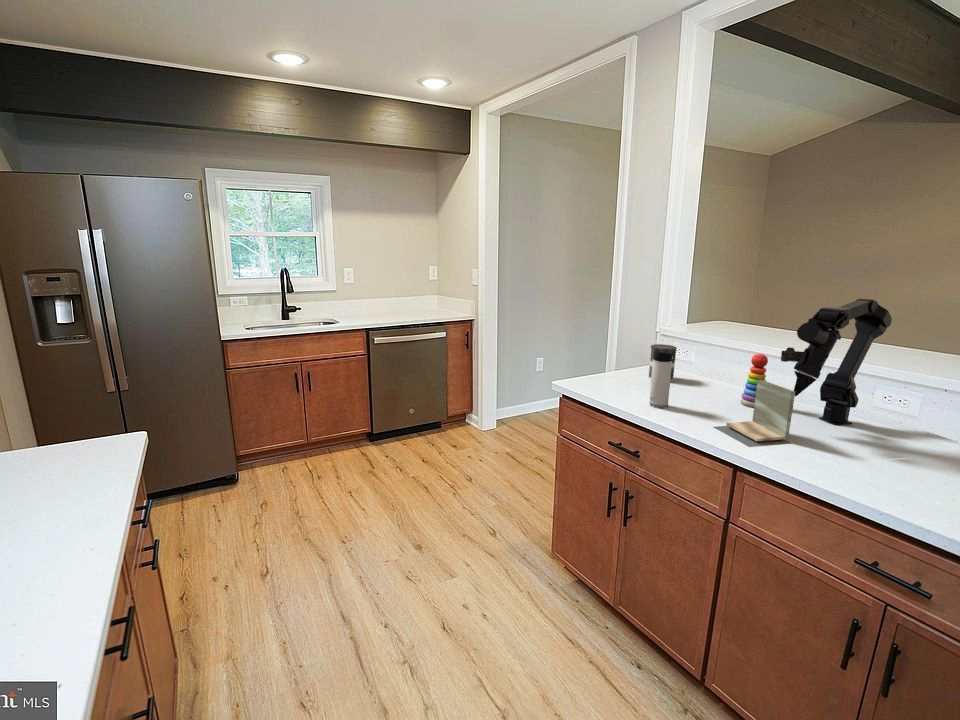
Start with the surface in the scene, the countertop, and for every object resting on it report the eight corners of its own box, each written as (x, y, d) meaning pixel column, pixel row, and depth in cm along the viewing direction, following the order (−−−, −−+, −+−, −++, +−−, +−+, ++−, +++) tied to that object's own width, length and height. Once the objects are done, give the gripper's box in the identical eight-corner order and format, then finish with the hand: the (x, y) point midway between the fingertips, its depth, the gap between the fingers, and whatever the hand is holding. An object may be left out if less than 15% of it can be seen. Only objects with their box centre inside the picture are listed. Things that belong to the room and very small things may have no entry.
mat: (751, 424, 155) (752, 424, 155) (792, 444, 139) (792, 443, 139) (712, 427, 152) (712, 426, 152) (749, 447, 137) (749, 446, 137)
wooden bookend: (755, 425, 153) (761, 379, 150) (787, 441, 141) (795, 391, 137) (726, 427, 151) (731, 381, 148) (756, 443, 139) (763, 393, 136)
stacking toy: (763, 409, 169) (771, 357, 165) (738, 405, 174) (744, 354, 170) (766, 404, 175) (774, 353, 171) (742, 400, 180) (748, 350, 176)
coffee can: (675, 382, 204) (679, 349, 201) (650, 381, 206) (653, 348, 202) (670, 376, 214) (673, 344, 211) (646, 375, 216) (648, 343, 212)
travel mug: (648, 407, 172) (653, 351, 167) (649, 402, 178) (654, 348, 173) (667, 409, 169) (672, 353, 165) (668, 404, 175) (673, 349, 171)
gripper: (792, 341, 158) (769, 384, 161) (788, 335, 143) (763, 383, 146) (831, 354, 152) (806, 399, 155) (831, 350, 136) (804, 400, 139)
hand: (794, 395), depth 149 cm, fingers closed
